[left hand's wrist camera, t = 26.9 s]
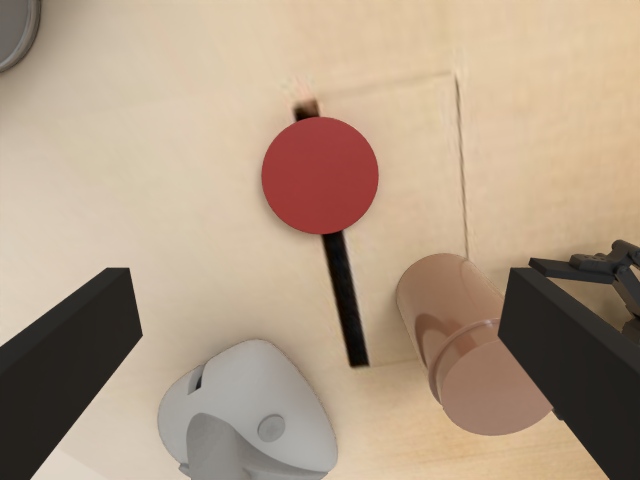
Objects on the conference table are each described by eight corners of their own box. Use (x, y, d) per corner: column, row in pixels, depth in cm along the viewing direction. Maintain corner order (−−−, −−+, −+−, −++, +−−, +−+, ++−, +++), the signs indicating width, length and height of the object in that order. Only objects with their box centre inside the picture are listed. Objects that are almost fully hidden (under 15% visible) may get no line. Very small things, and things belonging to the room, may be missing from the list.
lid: (258, 121, 35) (254, 122, 33) (373, 112, 35) (377, 112, 33) (271, 230, 39) (269, 237, 37) (376, 223, 39) (379, 230, 37)
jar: (474, 331, 44) (551, 440, 29) (392, 329, 44) (427, 438, 29) (490, 254, 40) (586, 335, 26) (400, 252, 40) (446, 332, 26)
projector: (175, 454, 50) (121, 583, 37) (174, 314, 43) (104, 412, 29) (331, 468, 51) (335, 600, 38) (357, 334, 44) (375, 438, 30)
